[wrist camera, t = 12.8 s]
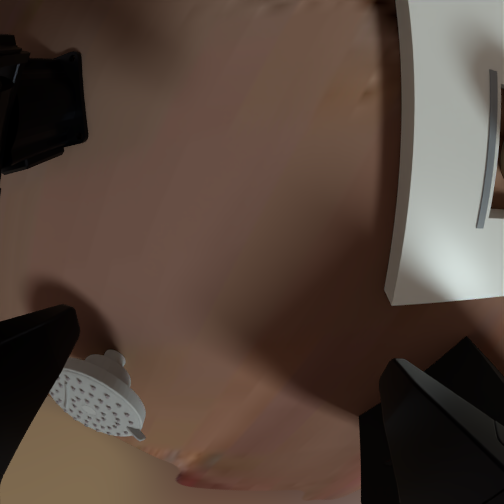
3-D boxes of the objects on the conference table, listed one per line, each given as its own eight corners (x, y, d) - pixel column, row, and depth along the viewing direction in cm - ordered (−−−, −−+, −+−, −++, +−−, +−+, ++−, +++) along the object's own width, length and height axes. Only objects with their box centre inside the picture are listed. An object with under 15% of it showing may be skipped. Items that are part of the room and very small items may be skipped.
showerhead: (133, 457, 24) (41, 409, 22) (152, 402, 30) (70, 360, 29) (157, 421, 20) (37, 358, 18) (179, 354, 26) (79, 302, 25)
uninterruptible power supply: (460, 459, 37) (482, 550, 19) (341, 416, 30) (354, 592, 12) (536, 404, 31) (573, 495, 13) (468, 319, 23) (559, 513, 5)
